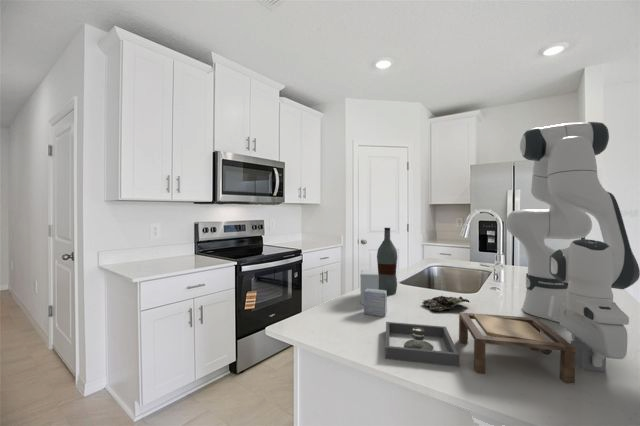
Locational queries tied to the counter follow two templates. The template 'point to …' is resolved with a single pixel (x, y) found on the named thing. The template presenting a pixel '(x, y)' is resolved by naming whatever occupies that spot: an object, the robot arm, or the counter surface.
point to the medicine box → (375, 302)
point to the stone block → (586, 356)
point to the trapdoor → (510, 329)
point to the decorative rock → (443, 302)
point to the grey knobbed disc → (418, 340)
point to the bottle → (387, 264)
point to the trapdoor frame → (518, 343)
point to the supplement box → (368, 282)
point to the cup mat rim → (421, 354)
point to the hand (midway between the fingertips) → (587, 358)
